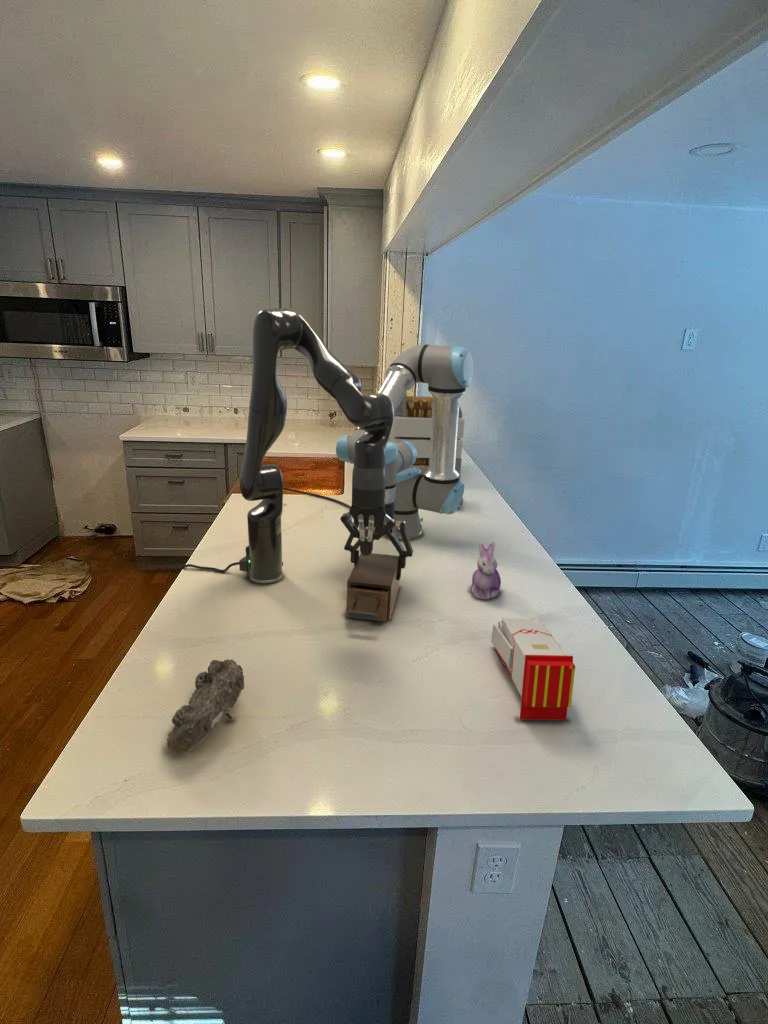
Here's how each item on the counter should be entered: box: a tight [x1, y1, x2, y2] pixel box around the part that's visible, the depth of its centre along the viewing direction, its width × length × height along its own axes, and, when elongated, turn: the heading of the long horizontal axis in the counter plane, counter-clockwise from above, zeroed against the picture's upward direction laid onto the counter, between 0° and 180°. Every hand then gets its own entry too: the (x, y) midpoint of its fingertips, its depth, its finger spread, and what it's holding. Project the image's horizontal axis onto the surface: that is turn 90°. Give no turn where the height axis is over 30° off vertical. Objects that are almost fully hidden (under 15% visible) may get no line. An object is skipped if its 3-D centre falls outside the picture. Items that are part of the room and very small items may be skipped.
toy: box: [490, 617, 576, 721], centre depth 122 cm, size 12×13×30 cm
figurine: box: [470, 541, 502, 600], centre depth 158 cm, size 9×10×15 cm
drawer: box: [346, 585, 388, 622], centre depth 147 cm, size 23×10×8 cm, turn 171°
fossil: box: [166, 658, 245, 754], centre depth 106 cm, size 22×10×15 cm
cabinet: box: [345, 552, 400, 621], centre depth 152 cm, size 18×11×10 cm, turn 171°
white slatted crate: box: [388, 392, 465, 481], centre depth 268 cm, size 34×33×41 cm
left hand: (366, 554), depth 133 cm, fingers closed
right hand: (377, 575), depth 156 cm, fingers closed on cabinet, 11 cm apart
